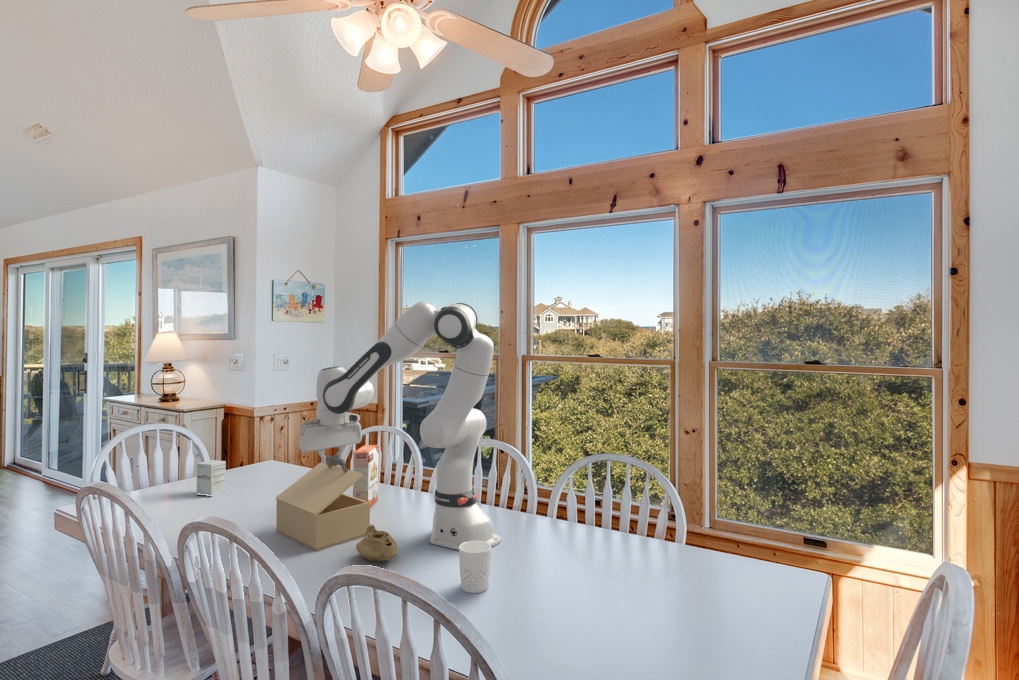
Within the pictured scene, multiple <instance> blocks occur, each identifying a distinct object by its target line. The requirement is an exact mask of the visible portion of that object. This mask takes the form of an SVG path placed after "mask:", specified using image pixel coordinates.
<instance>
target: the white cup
mask: <svg viewBox="0 0 1019 680" xmlns="http://www.w3.org/2000/svg"><path fill="white" fill-rule="evenodd" d="M491 555H492V547H491V545H490V544H489V543H487V542H483V541H468V542H464V543H462V544H461V545H460V546H459V550H458V556H459V577H460V586H461V590H462V591H463V592H465V593H470V594H479V593H483V592H485V591H487V590H488V589H489V586H490V574H491V573H490V572H491Z"/></svg>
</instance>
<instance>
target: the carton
mask: <svg viewBox="0 0 1019 680" xmlns="http://www.w3.org/2000/svg"><path fill="white" fill-rule="evenodd" d="M370 509H371V507H370V502H367V501H364V500H361V499H358V498H355V497H353V495H352V496H351V495H349V494H346V493H343V494H341V495H340V496H339V497H338V498H337V499H336V500H334V501H333V502H332V503H331V504H330V505H329V506H327V507H326V508H325V509H324V510H323V511H322V512H320V513H319V514H318V515H317V516H315V515H312V514H310V513H307V512H305V511H302V510H300V509H297V508H295V507H293V506H290V505H288V504H285V503H283V502H280V501H278V500H276V523H275V524H276V526H275V527H276V533H278V534H280V535H282V536H284V537H286V538H288V539H291V540H292V541H294V542H296V543H299V544H301V545H302V546H305V547H306V548H309V549H311V550H312V551H315V552H319V551H321V550H324V549H328V548H332V547H334V546H337V545H338V546H339V545H340V544H344V543H347V542H352V541H353V540H358V539H361V538H364V537H365V535H366V531H367V527H368V526H369V525H371V524H370V523H371V522H370V521H371V519H370V518H371V516H370V515H371V514H370V513H371V512H370V511H371V510H370Z"/></svg>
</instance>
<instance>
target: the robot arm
mask: <svg viewBox="0 0 1019 680" xmlns="http://www.w3.org/2000/svg"><path fill="white" fill-rule="evenodd" d="M477 327H478V316H477V312H476V311H475V309H474V308H473V307H472V306H471V305H469V304H467V303H463V302H457V303H452V304H448V305H446V306H444V307H441V308H440V309H439V308H436V307H435V306H434V305H433V304H431V303H429V302H427V301H418V302H415V303H414V304H413V305H412V306H410V307H409V308H408V309H407V310H406V311H405V312H404V313H402V314H401V315H400V317H398V318H397V319H396V321H394V322H393V324H392V325H391V326H390V327H389V328H388V330H386V332H385V333H384V334H383V335H382V336H381V338H379V339H378V340H377V341H376V342H375V343H374V345H372V347H370V349H368V350H367V351H366V352H365V353H364V354H363V355H362V356H361V357H360V358H359V359H358V360H357V361H355V362H354V364H353V365H351V366H350V368H349V369H348V370H346V369H345V368H344V367H343V366H332V367H326V368H322V369H321V370H320V371H318V374H317V376H316V377H317V378H316V388H315V389H316V391H315V392H316V394H315V396H316V398H317V405H316V419H312V420H306V421H304V422H302V424H301V425H300V426H299V434H300V436H299V441H298V447H299V450H300V451H301V452H304V453H308V452H309V453H310V452H315V451H317V453H318V455H319V457H320V460H321V461H320V462H322V463H328V457H326V456H325V455H326V450H329V449H333V448H337V449H338V450H337V453H336V454H334V457H336V458H340V459H343V453H344V452H345V449H346V446H351V445H352V446H353V445H357V444H360V443H361V442H362V439H363V435H362V433H363V432H362V425H361V423H360V420H361V415H359V414H356V413H352V412H349V411H352V410H353V411H354V410H357V409H359V408H364V407H366V406H368V405H370V404H371V403H372V402H373V399H374V397H375V388H374V385H373V383H372V382H371V379H372V378H373V377H374V376H375V375H376V374H377V373H378V372H379V371H381V370H383V369H384V368H386V367H388V366H391V365H395V364H398V363H401V362H404V361H407V360H409V359H410V358H411V357H413V356H414V355H416V354H417V353H418V351H420V350H421V349H422V348H423V347H424V345H425V344H426V343H427V342H428V341H429V340H430V339H431V338H432V337H433V336H435V335H436V336H437V337H438V338H439V339H440V340H442V341H443V342H445V343H446V344H447V345H450V346H451V347H452V348H453V349H456V351H457V352H456V356H455V359H454V363H453V366H452V369H451V373H450V376H449V380H448V383H447V385H446V387H445V388H446V389H445V391H444V393H443V394H442V396H441V398H440V399H439V401H438V402H437V404H436V405H435V407H434V408H433V410H432V411H431V412H430V413H428V415H427V416H425V418H423V420H422V421H421V424H420V427H419V434H420V438H421V441H422V442H423V444H424V445H426V447H429V448H431V449H444V452H443V454H442V456H441V457H440V459H439V460H438V461H437V464H436V472H435V473H436V476H435V477H436V478H435V479H436V484H435V485H436V487H435V490H434V503H435V509H434V514H433V519H432V520H433V521H432V529H431V532H430V538H429V544H432V545H436V546H441V547H444V548H449V549H453V550H457V551H459V546H460V545H461V544H462V543H464V542H468V541H483V542H487V543H489V544H490V545H491V548H493V547H494V546H497V545H498V544H499V543H500V542H501V541H502V537H501V536H500V535H498V534H496V533H494V527H493V522H492V519H491V518H490V517H489V516H488V514H487V513H486V512H485V511H484V510H483V509H482V507H480V506H479V503H477V499H479V495H480V494H477V493H476V494H475V491H474V488H473V468H474V460H475V455H476V451H477V449H478V445H479V442H480V440H481V438H482V436H483V434H484V433H485V431H486V430H487V418H486V416H485V414H484V413H483V412H482V411H481V410H480V409H478V408H474V407H475V406H476V404H477V403H479V402H480V400H481V399H482V398H483V395H484V392H485V388H486V386H487V385H486V384H487V383H488V379H489V374H490V371H491V368H492V363H493V358H494V349H495V348H494V347H495V346H494V342H493V340H492V339H491V338H490V337H489V336H487V334H483V333H480V332H479V331H478V330H477Z"/></svg>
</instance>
